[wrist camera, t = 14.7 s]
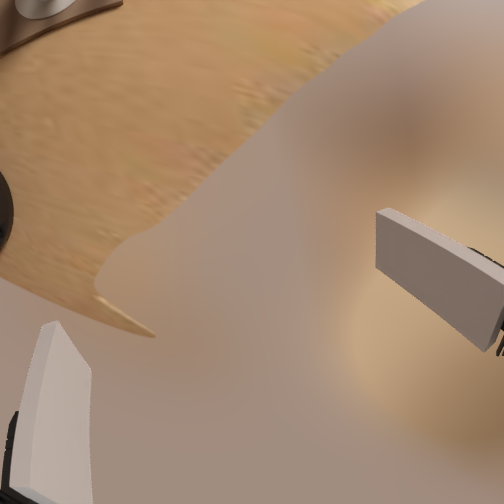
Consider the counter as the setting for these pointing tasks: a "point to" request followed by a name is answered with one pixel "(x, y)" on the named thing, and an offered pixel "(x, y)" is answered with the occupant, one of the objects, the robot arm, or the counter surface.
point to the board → (41, 17)
